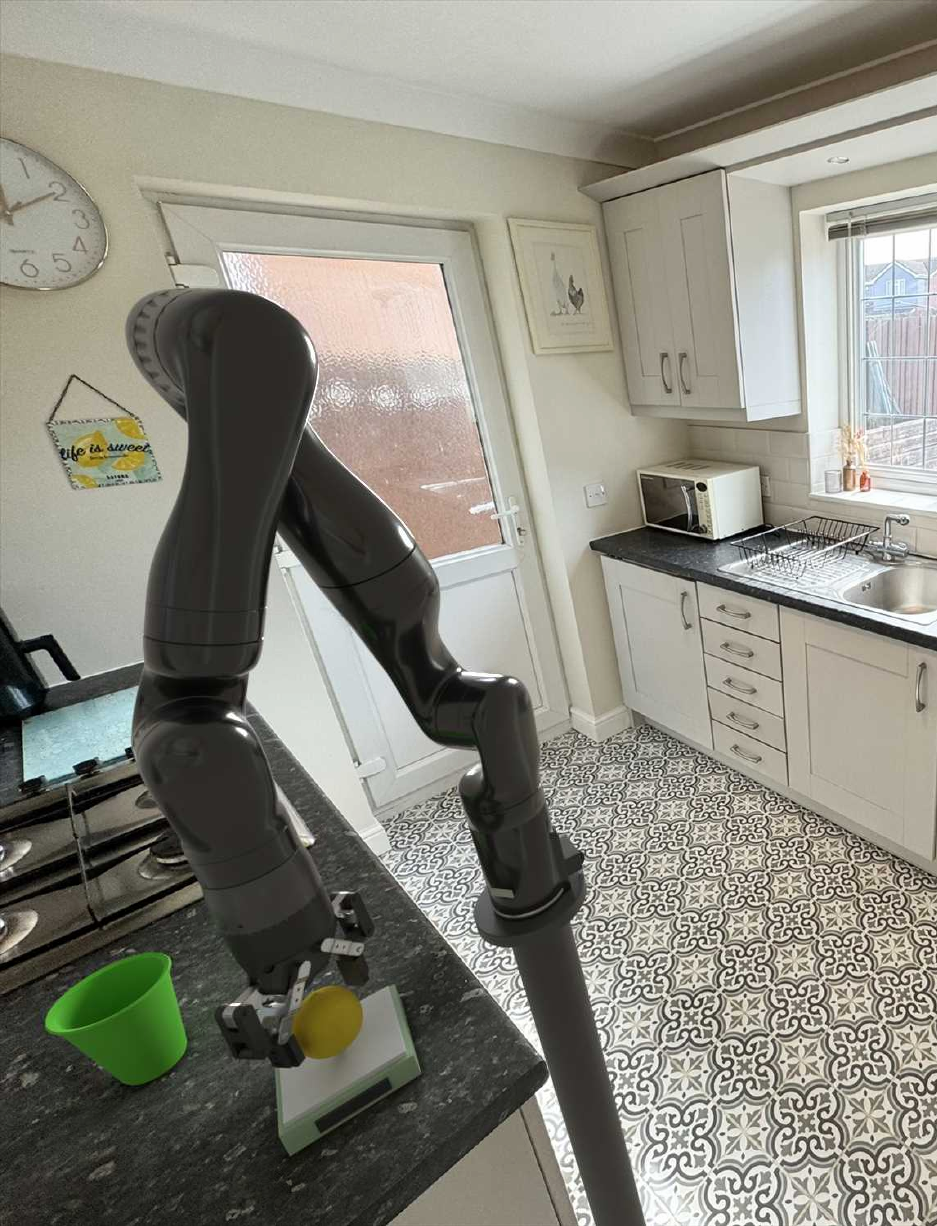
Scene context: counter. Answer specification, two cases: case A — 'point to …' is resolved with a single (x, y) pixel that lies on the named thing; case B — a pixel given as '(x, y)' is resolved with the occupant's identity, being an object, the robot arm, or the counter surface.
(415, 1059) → the scale
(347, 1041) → the lemon
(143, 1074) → the cup
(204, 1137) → the counter surface
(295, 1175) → the counter surface
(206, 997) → the counter surface
